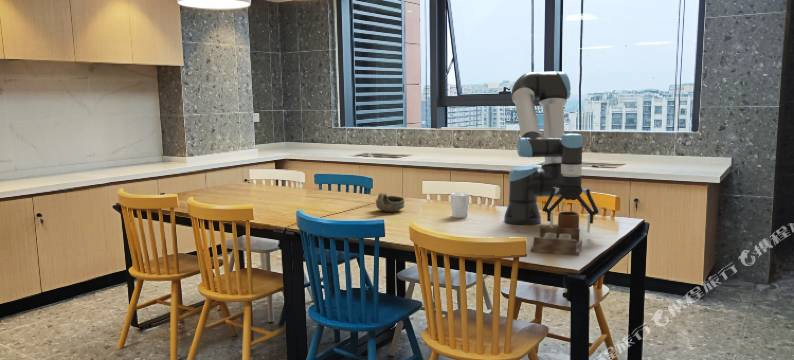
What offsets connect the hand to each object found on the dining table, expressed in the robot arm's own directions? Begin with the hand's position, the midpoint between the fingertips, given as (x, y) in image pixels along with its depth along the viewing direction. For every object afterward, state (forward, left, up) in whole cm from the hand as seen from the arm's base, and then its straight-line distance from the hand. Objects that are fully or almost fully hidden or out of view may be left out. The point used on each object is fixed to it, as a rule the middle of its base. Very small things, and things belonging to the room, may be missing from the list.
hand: (569, 230), depth 239 cm
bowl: (-83, +27, -3) cm, 87 cm away
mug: (0, 0, -3) cm, 3 cm away
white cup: (-49, +26, -3) cm, 56 cm away
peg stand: (-3, -17, -2) cm, 17 cm away
